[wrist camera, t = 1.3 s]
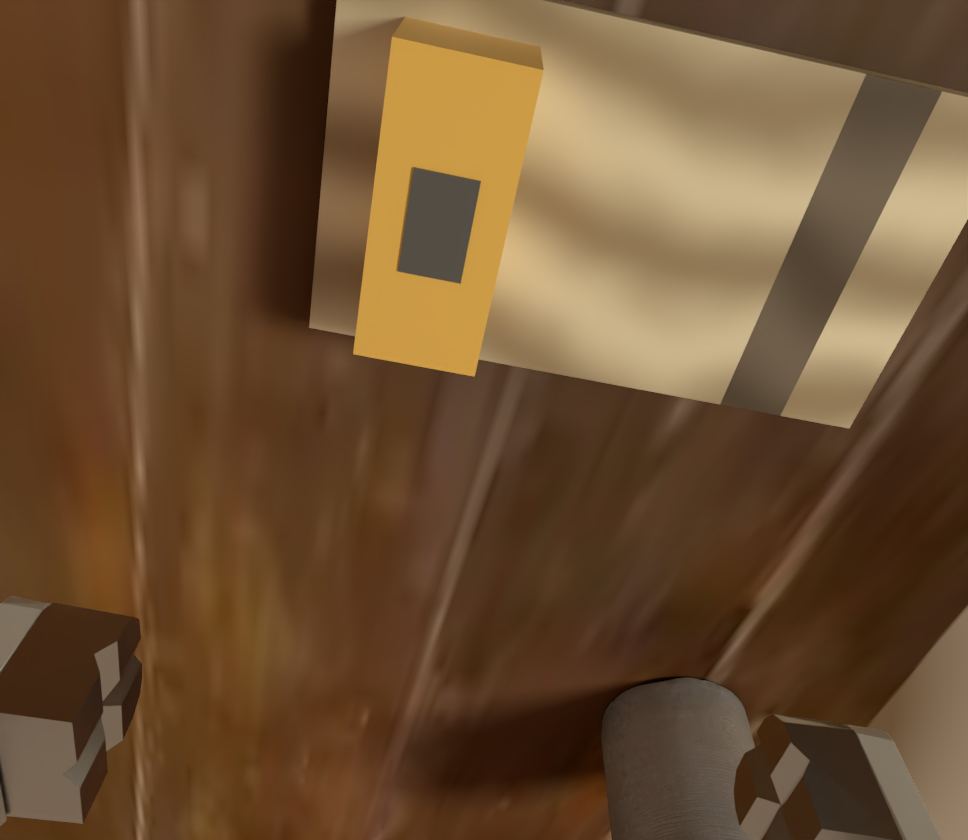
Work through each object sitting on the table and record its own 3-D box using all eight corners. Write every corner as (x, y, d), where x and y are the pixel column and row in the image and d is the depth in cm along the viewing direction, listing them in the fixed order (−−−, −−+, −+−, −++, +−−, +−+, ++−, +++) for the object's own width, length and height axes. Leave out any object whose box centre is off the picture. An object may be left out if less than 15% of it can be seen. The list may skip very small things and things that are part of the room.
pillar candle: (692, 776, 58) (741, 1023, 46) (573, 738, 56) (590, 986, 43) (776, 701, 53) (856, 957, 41) (648, 656, 51) (692, 912, 38)
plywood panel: (346, -50, 29) (340, -46, 28) (1012, 103, 31) (1028, 111, 30) (314, 315, 38) (309, 327, 37) (841, 414, 40) (849, 428, 39)
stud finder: (405, 16, 29) (391, 37, 26) (540, 46, 30) (543, 70, 26) (367, 308, 36) (352, 355, 33) (478, 329, 36) (474, 377, 33)
